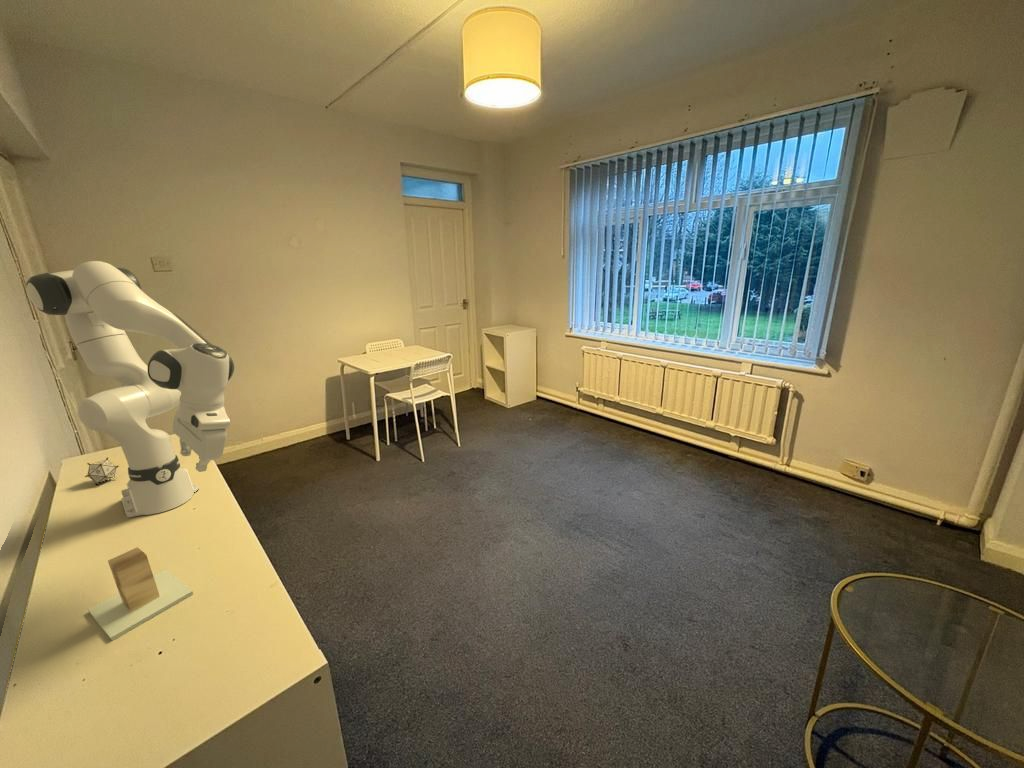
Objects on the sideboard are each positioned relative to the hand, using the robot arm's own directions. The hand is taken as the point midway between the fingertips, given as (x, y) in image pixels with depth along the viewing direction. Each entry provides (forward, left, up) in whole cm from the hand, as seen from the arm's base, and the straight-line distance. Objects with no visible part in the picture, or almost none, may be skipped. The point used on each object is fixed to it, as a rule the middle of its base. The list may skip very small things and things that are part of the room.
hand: (192, 462), depth 103 cm
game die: (-74, -3, -25) cm, 78 cm away
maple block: (+8, -18, -23) cm, 31 cm away
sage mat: (+8, -18, -24) cm, 31 cm away
